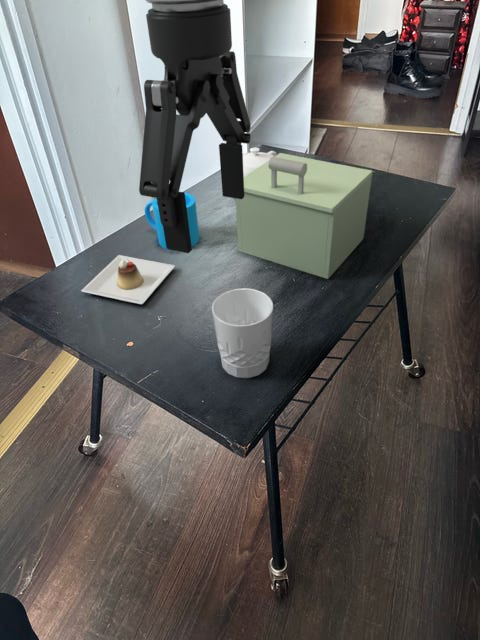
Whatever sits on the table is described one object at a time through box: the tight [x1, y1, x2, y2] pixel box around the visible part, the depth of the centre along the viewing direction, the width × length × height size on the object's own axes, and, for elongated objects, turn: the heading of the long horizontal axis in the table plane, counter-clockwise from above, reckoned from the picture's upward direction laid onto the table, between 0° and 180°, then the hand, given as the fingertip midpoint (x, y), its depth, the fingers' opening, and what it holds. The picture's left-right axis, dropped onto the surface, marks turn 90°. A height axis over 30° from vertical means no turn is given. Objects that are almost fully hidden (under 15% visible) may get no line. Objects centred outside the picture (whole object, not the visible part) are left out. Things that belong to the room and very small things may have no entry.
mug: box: [144, 192, 200, 251], centre depth 93 cm, size 12×8×8 cm
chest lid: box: [244, 152, 374, 213], centre depth 81 cm, size 16×19×6 cm
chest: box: [235, 175, 373, 280], centre depth 87 cm, size 16×19×13 cm
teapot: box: [243, 146, 278, 177], centre depth 106 cm, size 20×12×10 cm, turn 148°
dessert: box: [80, 254, 176, 305], centre depth 82 cm, size 12×12×5 cm
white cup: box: [211, 287, 274, 379], centre depth 64 cm, size 8×8×10 cm
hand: (208, 221), depth 56 cm, fingers open, 13 cm apart
